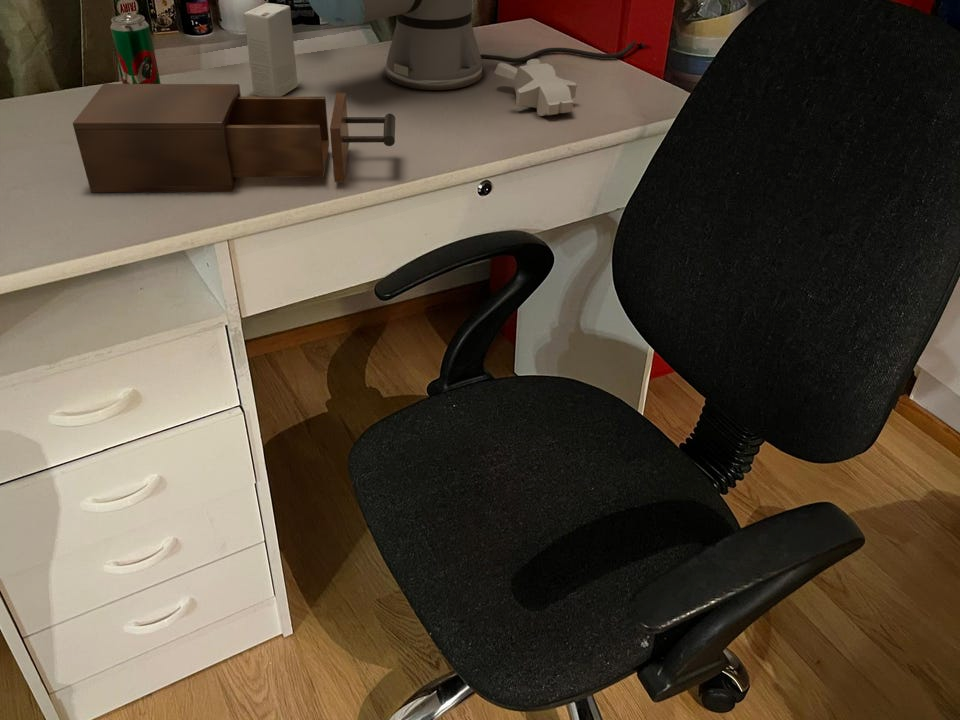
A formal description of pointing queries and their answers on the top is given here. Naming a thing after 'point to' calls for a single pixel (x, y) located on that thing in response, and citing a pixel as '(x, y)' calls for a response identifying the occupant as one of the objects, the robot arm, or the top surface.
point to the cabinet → (157, 138)
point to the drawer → (293, 136)
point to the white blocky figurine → (540, 87)
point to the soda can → (134, 49)
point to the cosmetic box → (271, 49)
